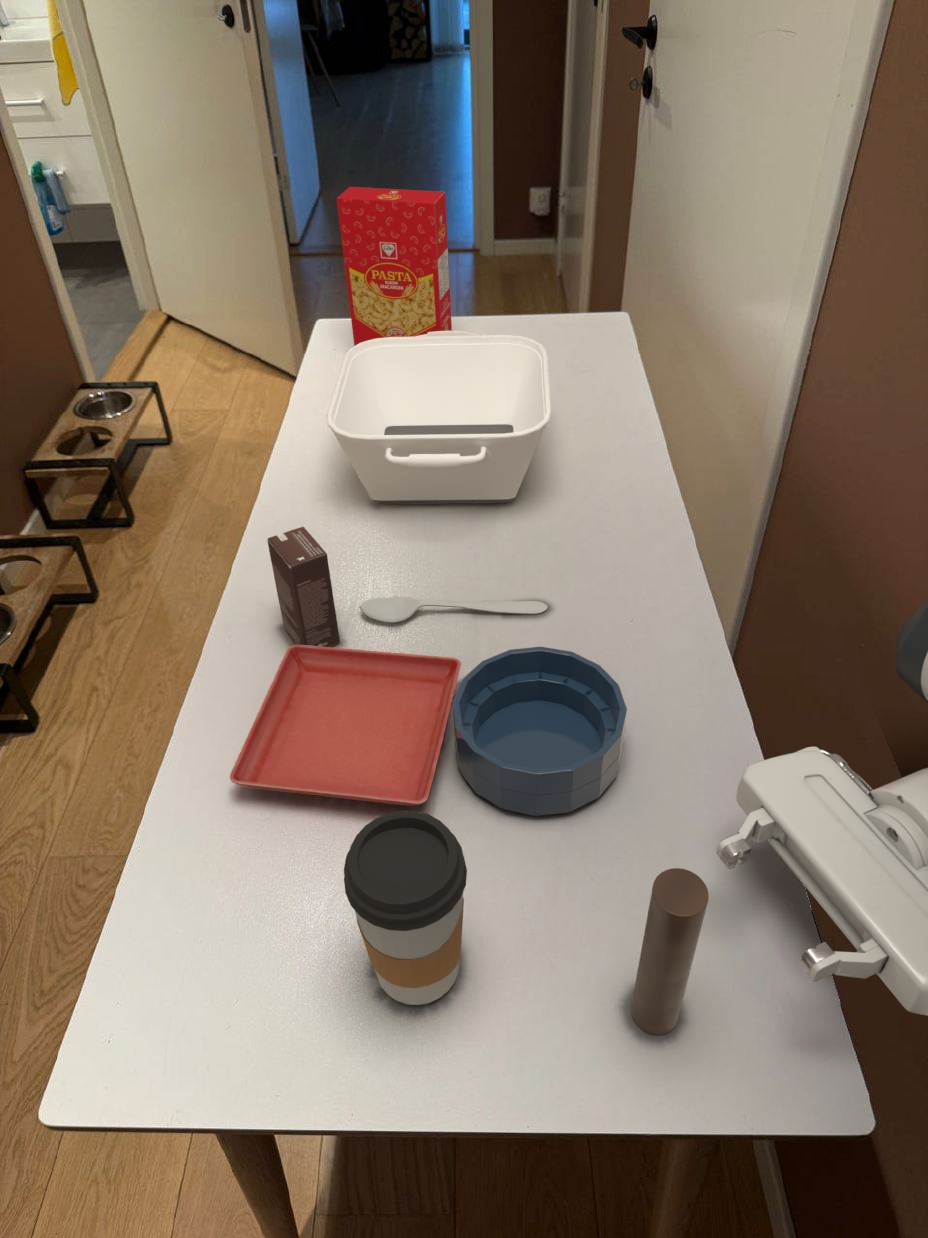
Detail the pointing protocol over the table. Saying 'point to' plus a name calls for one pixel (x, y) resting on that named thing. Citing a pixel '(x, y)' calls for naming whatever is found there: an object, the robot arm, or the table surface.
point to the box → (304, 588)
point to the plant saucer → (350, 725)
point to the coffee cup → (408, 903)
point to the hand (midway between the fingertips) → (762, 909)
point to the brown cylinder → (668, 949)
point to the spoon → (405, 606)
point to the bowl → (539, 730)
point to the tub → (441, 415)
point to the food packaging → (395, 261)
